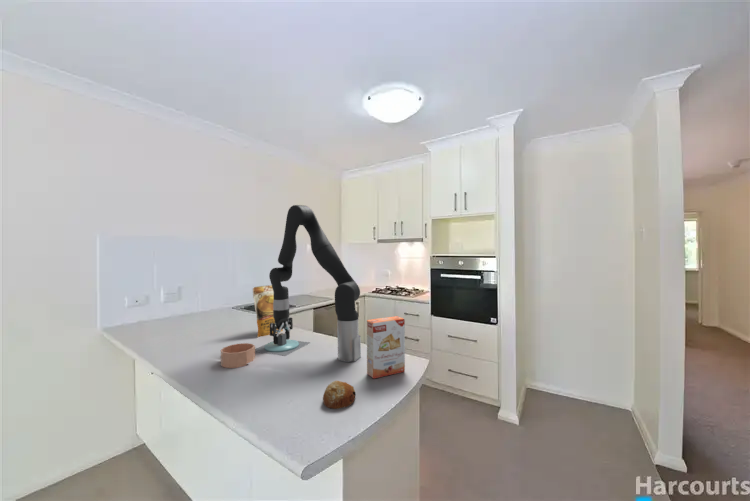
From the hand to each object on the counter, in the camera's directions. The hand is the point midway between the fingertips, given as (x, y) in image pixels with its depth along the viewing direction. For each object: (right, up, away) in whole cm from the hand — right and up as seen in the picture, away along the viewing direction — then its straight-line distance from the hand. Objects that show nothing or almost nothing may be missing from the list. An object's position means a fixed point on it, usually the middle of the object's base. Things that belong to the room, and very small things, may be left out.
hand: (281, 341), depth 146 cm
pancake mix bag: (-15, -4, +24) cm, 29 cm away
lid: (0, -2, 0) cm, 2 cm away
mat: (0, -3, 0) cm, 3 cm away
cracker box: (+50, -3, -31) cm, 59 cm away
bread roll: (+34, -3, -52) cm, 62 cm away
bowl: (-13, -4, -17) cm, 22 cm away
